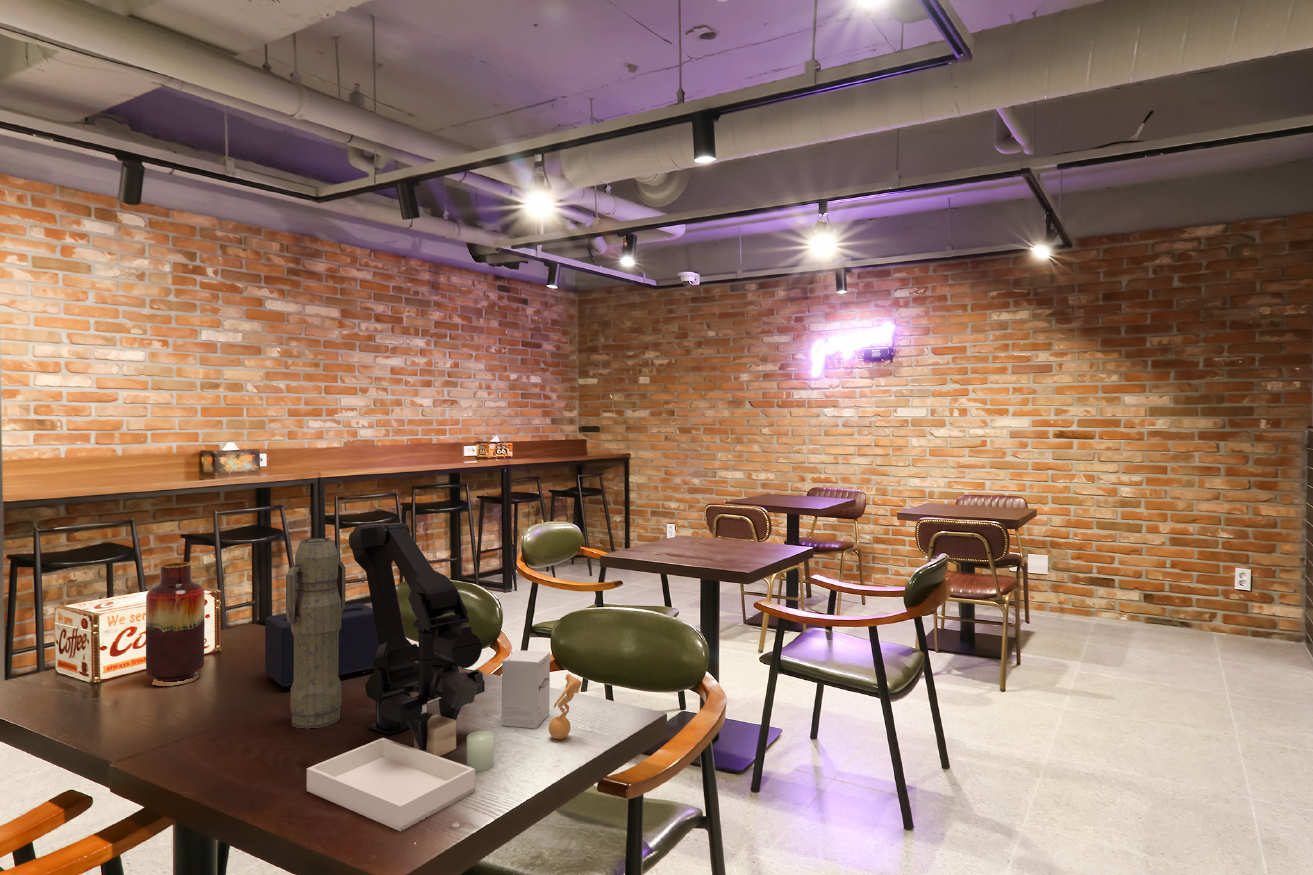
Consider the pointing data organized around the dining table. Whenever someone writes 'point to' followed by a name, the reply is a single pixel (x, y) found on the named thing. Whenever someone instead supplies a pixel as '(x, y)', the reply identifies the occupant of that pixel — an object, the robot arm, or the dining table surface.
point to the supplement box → (525, 688)
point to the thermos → (315, 632)
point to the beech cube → (440, 735)
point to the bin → (391, 782)
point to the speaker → (353, 644)
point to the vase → (175, 625)
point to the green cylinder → (480, 750)
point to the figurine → (561, 724)
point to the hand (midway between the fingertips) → (435, 744)
